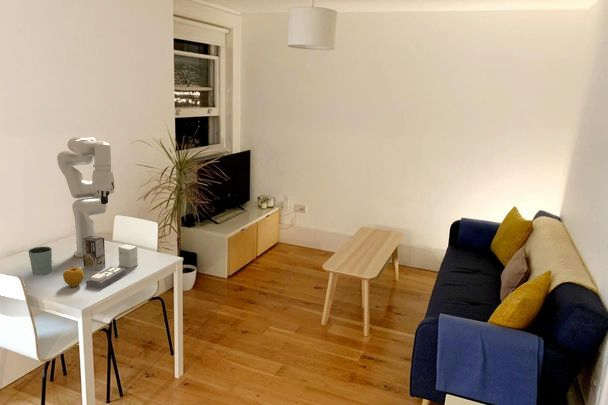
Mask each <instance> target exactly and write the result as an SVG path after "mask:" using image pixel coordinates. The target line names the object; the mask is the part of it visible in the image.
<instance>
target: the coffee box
mask: <svg viewBox="0 0 608 405" xmlns="http://www.w3.org/2000/svg"><path fill="white" fill-rule="evenodd" d="M82 250H83V257H82V259H83V261H82V262H83V268H84V269H88V270H93V271H99V270H101V269H103V268H105V267H106V249H105V238H104V237H101V236H96V235H95V236H88V237H85V238H83V239H82Z"/></svg>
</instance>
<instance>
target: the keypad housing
mask: <svg viewBox="0 0 608 405" xmlns="http://www.w3.org/2000/svg"><path fill="white" fill-rule="evenodd" d="M113 267H114V268H120V269H121V270H119V271H118V272H116V273H115V272H112V273H114V274H112V275H111V276H109V277H106V278H105V279H103V280H102V281H100V282H99V281H93V280H91V277H90V278H88V279H86V281H85V282H86V284H85V285H86V287H89V288H90V287H91V288H95V289H100V290H102V289H104V288H105V287H107V286H108V285H111V284H112V283H114V282H115V281H117V280H119V279H120V278H122V277H124V276H126V274H127V272H126V271H127V270H126V268H123V267H116V266H110V267H108V268H106V269H105V270H102V271H101V272H98V274H102V273H104V272H109V271H107V270H109V269H111V268H113Z"/></svg>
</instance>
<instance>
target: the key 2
mask: <svg viewBox="0 0 608 405" xmlns="http://www.w3.org/2000/svg"><path fill="white" fill-rule="evenodd" d="M112 267H113V268H111V269H109V270H107V271H109V272H115V273H116V272H118V271H119V270H121V269H120V268H121V267H118V268H114V267H115V266H112Z"/></svg>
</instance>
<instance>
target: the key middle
mask: <svg viewBox="0 0 608 405" xmlns="http://www.w3.org/2000/svg"><path fill="white" fill-rule="evenodd" d="M102 274H103V275H106V277H109V276H111V275H112V274H114V273H112V272H104V273H102Z"/></svg>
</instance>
